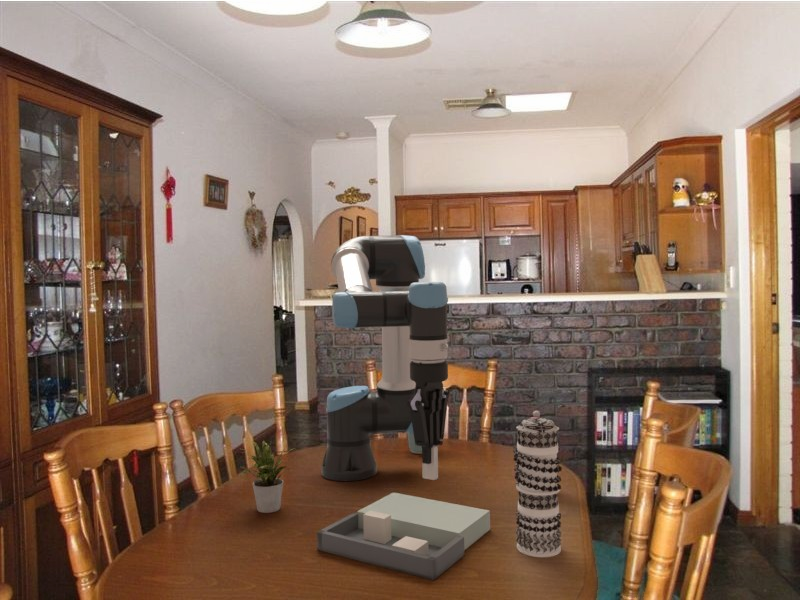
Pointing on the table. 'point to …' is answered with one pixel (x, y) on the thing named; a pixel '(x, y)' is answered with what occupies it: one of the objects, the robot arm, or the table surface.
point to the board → (430, 519)
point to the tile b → (412, 545)
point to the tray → (387, 550)
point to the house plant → (267, 480)
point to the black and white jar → (538, 488)
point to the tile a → (377, 527)
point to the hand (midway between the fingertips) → (430, 477)
